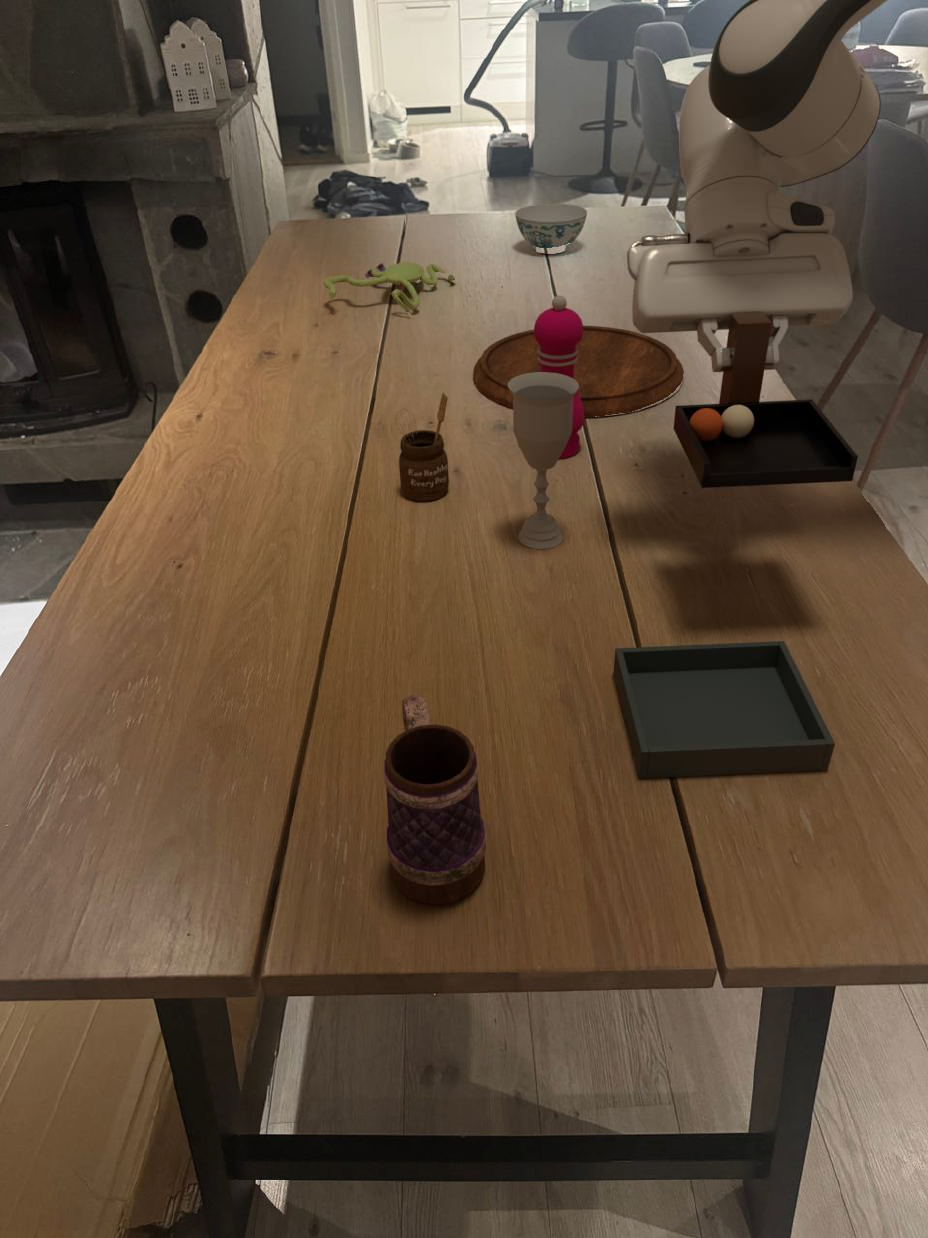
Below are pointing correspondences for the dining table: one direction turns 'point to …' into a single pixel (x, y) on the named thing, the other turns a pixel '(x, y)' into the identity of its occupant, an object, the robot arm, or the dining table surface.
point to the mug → (433, 809)
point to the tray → (719, 710)
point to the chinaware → (550, 224)
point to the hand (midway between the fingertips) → (746, 368)
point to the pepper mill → (561, 355)
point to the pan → (763, 426)
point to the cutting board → (589, 369)
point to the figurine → (393, 280)
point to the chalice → (542, 441)
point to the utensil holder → (424, 461)
